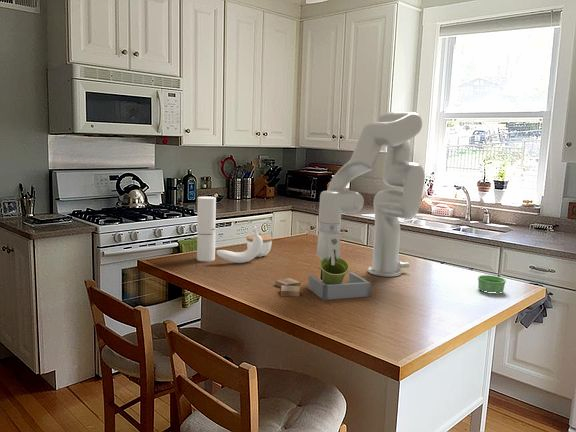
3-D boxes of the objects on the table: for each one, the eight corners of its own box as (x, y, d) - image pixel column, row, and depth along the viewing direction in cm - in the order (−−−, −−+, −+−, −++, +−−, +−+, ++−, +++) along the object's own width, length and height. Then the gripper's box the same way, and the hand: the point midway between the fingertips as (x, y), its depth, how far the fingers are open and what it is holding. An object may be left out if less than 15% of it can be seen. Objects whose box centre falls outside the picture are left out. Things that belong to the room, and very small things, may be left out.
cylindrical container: (218, 259, 210) (219, 197, 206) (206, 262, 204) (207, 199, 200) (205, 256, 213) (205, 196, 210) (193, 259, 207) (193, 197, 204)
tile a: (289, 283, 180) (289, 277, 180) (300, 287, 176) (300, 282, 175) (275, 286, 177) (275, 280, 176) (286, 290, 172) (286, 284, 172)
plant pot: (342, 297, 170) (346, 277, 165) (314, 290, 171) (317, 270, 167) (347, 279, 177) (351, 259, 172) (320, 273, 179) (323, 253, 174)
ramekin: (487, 295, 174) (488, 282, 173) (471, 287, 182) (472, 275, 182) (510, 294, 176) (511, 281, 175) (493, 286, 185) (494, 274, 184)
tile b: (299, 292, 171) (299, 286, 171) (299, 297, 165) (299, 291, 165) (281, 291, 171) (281, 285, 171) (280, 296, 165) (280, 290, 165)
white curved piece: (215, 263, 202) (215, 226, 200) (258, 259, 212) (259, 223, 210) (220, 266, 198) (220, 228, 196) (264, 261, 208) (265, 225, 206)
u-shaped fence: (351, 284, 180) (352, 272, 179) (370, 296, 168) (371, 282, 167) (308, 287, 174) (308, 274, 174) (323, 300, 162) (324, 286, 161)
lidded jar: (240, 255, 218) (241, 233, 216) (256, 251, 226) (257, 230, 225) (261, 259, 212) (261, 236, 210) (276, 255, 220) (277, 233, 219)
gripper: (348, 231, 170) (344, 285, 172) (330, 223, 184) (327, 274, 186) (327, 231, 167) (323, 286, 170) (310, 223, 181) (307, 274, 184)
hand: (325, 280), depth 178 cm, fingers closed
